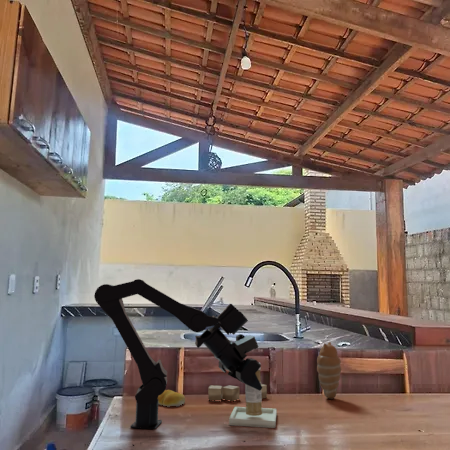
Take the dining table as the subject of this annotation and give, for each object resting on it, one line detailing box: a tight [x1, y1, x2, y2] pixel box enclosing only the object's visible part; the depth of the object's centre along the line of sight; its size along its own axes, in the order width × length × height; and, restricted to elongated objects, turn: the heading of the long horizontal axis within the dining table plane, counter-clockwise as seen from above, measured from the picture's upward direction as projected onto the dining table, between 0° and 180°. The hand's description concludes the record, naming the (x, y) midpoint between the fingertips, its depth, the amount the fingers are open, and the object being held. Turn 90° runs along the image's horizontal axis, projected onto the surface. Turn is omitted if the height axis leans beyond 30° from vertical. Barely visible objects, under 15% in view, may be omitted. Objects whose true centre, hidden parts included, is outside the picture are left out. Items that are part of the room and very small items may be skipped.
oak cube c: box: [261, 383, 268, 399], centre depth 136 cm, size 4×4×4 cm
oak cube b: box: [222, 385, 240, 402], centre depth 132 cm, size 4×4×4 cm
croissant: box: [316, 341, 342, 400], centre depth 136 cm, size 9×8×18 cm
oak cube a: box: [207, 385, 223, 401], centre depth 132 cm, size 4×4×4 cm
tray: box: [228, 406, 278, 429], centre depth 111 cm, size 12×12×2 cm
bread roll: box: [158, 389, 186, 408], centre depth 127 cm, size 8×9×4 cm
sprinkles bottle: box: [244, 363, 263, 416], centre depth 112 cm, size 5×5×14 cm
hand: (257, 387), depth 112 cm, fingers closed on sprinkles bottle, 4 cm apart
